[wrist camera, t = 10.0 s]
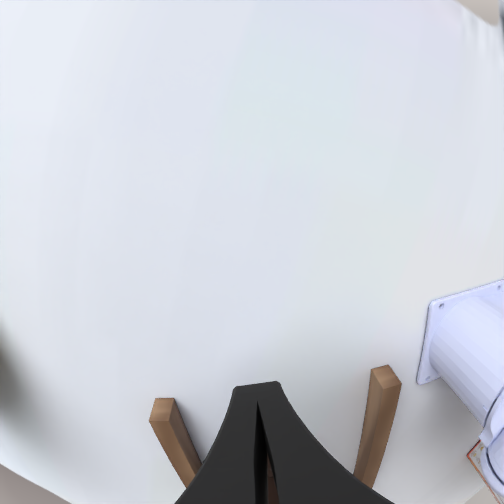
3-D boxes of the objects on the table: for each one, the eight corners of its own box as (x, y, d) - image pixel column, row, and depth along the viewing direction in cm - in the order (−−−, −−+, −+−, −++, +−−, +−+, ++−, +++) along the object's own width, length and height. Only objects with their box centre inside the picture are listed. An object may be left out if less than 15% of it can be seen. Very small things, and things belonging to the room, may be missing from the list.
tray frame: (388, 364, 21) (401, 383, 18) (363, 480, 26) (369, 495, 23) (155, 398, 20) (148, 420, 18) (208, 503, 25) (207, 520, 23)
